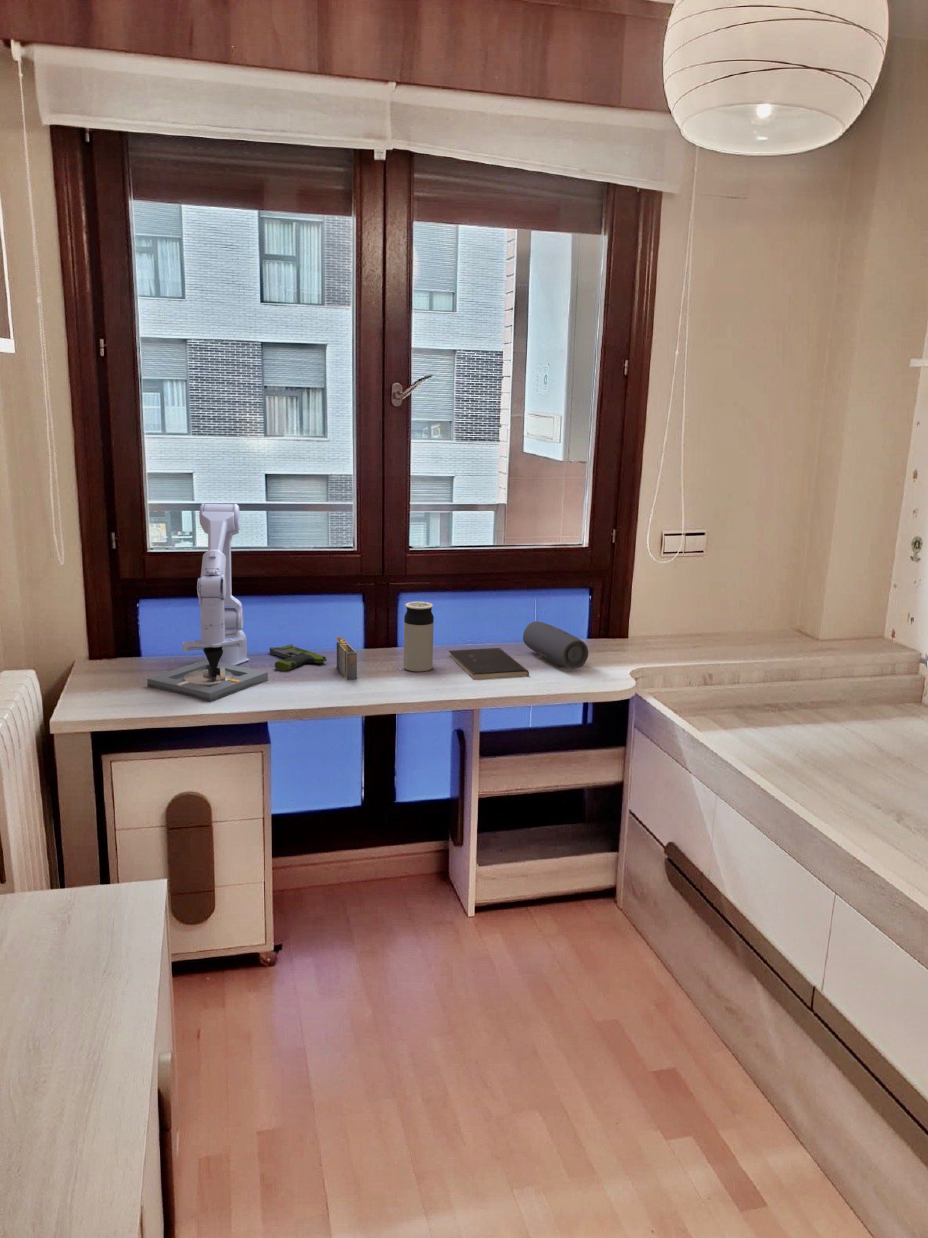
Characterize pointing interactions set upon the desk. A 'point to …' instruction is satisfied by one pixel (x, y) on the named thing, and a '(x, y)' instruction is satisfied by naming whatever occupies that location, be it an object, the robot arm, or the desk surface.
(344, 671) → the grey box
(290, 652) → the gun
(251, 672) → the dial plate
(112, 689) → the desk surface
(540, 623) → the bluetooth speaker
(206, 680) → the dial
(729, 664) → the desk surface
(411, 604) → the travel mug
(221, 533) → the robot arm
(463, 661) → the hardcover book
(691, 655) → the desk surface
